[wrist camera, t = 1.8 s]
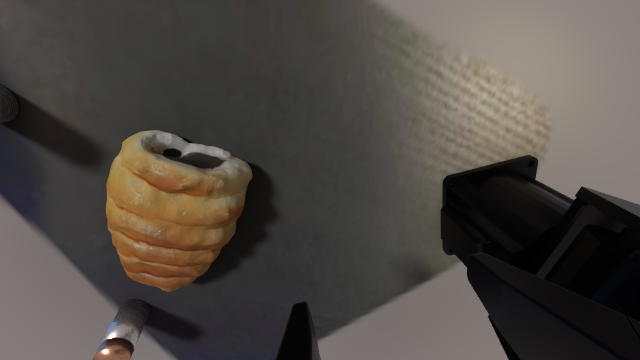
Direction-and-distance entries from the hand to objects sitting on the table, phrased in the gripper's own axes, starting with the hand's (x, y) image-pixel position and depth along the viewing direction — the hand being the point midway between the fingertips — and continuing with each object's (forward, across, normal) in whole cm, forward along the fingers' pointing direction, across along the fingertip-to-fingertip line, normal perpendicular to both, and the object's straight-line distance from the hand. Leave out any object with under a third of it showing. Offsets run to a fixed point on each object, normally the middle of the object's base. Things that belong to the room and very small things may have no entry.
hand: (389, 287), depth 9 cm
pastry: (+10, +8, 0) cm, 14 cm away
